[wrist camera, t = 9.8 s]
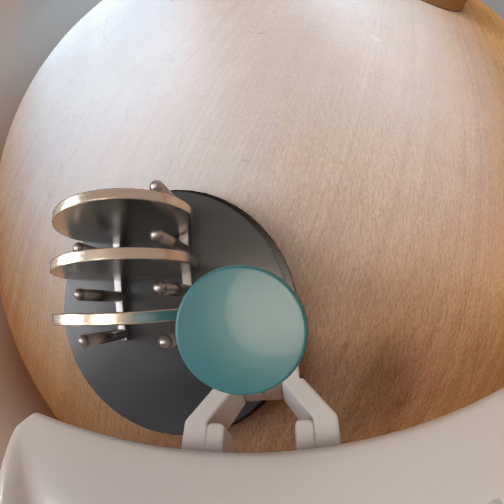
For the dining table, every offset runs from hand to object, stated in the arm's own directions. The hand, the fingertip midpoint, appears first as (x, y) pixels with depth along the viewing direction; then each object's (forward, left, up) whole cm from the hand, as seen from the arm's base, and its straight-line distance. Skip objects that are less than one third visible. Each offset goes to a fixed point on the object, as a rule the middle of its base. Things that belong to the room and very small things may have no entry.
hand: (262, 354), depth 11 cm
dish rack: (-3, +6, -6) cm, 9 cm away
